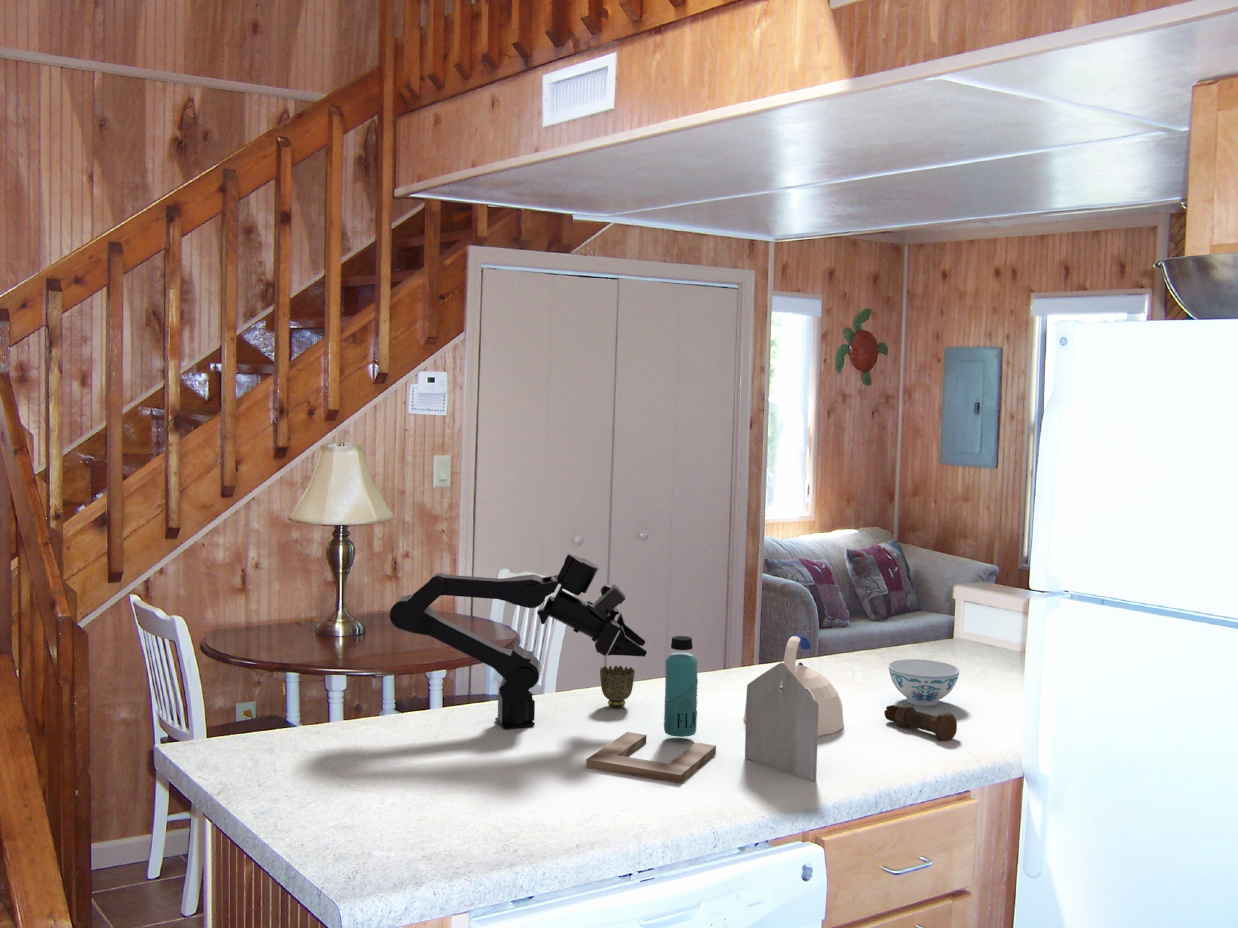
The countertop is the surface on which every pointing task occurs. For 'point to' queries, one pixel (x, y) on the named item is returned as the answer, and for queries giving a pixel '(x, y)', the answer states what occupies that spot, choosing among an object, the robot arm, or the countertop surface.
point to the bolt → (923, 721)
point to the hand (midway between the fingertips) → (645, 648)
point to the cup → (616, 684)
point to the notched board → (675, 771)
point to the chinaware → (923, 680)
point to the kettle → (815, 688)
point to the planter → (782, 723)
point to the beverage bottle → (681, 690)
